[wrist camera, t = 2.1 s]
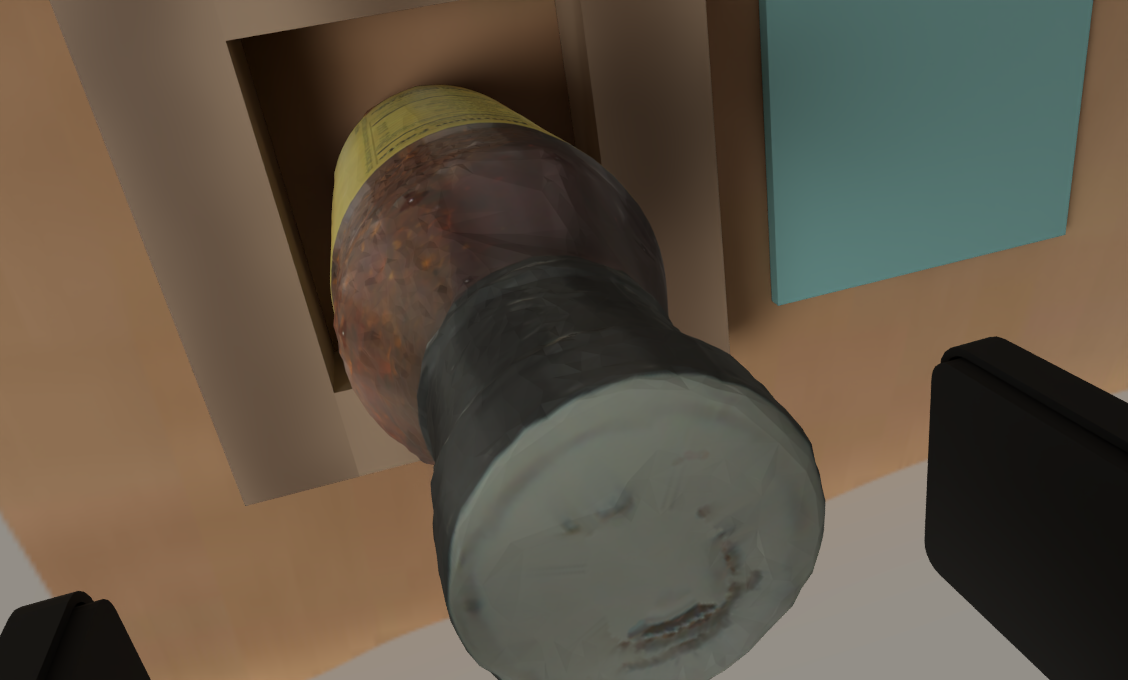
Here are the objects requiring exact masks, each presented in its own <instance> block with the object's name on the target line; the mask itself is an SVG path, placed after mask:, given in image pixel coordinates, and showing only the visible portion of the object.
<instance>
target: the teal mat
mask: <svg viewBox="0 0 1128 680" xmlns="http://www.w3.org/2000/svg"><path fill="white" fill-rule="evenodd" d="M1092 6H1093V0H759V15H760V38H761V62H762V85H763V108H764V131H765V154H766V177H767V200H768V223H769V246H770V269H771V293H772V301H773V302H774V303H775V304H777V305H778V306H779V305H783V304H787V303H791V302H795V301H799V300H803V299H807V298H811V297H815V296H819V295H824V294H828V293H832V292H836V291H840V290H844V289H848V288H852V287H856V286H860V285H864V284H868V283H872V282H876V281H880V280H884V279H888V278H892V277H896V276H900V275H904V274H908V273H912V272H917V271H921V270H925V269H929V268H933V267H937V266H941V265H945V264H949V263H953V262H957V261H961V260H965V259H969V258H973V257H977V256H981V255H985V254H989V253H993V252H997V251H1001V250H1005V249H1010V248H1014V247H1018V246H1022V245H1026V244H1030V243H1034V242H1038V241H1042V240H1046V239H1050V238H1054V237H1058V236H1062V235H1065V233H1066V224H1067V216H1068V208H1069V199H1070V191H1071V182H1072V174H1073V166H1074V157H1075V149H1076V140H1077V132H1078V123H1079V115H1080V107H1081V98H1082V90H1083V81H1084V73H1085V64H1086V56H1087V48H1088V39H1089V31H1090V22H1091V14H1092Z"/></svg>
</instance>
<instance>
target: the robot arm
mask: <svg viewBox="0 0 1128 680" xmlns="http://www.w3.org/2000/svg"><path fill="white" fill-rule="evenodd" d="M926 497H927V498H926V519H925V549H926V553H927V556H928V558H929V560H930V562H931V564H932V566H933V567H934V569H935V570H936V571H937V572H938V573H939V574H940V575H941V576H942V577H943V578H944V579H945V580H946V581H947V582H948V583H949V584H950V585H951V586H952V587H953V588H954V589H955V590H956V591H957V592H958V593H959V594H960V595H962V596H963V597H964V598H965V599H966V600H967V601H968V602H969V603H970V604H971V605H972V606H973V607H974V608H975V609H976V610H977V611H978V612H979V613H980V614H981V615H982V616H984V617H985V618H986V619H987V620H988V621H989V622H990V623H991V624H992V625H993V626H994V627H995V628H996V629H997V630H998V631H999V632H1000V633H1001V634H1003V636H1004V637H1006V638H1007V639H1008V640H1009V641H1010V642H1011V643H1012V644H1013V645H1014V646H1015V647H1016V648H1017V649H1018V650H1019V651H1020V652H1021V653H1022V654H1023V655H1024V656H1025V657H1027V659H1028V660H1030V661H1031V662H1032V663H1033V664H1034V665H1035V666H1036V667H1037V668H1038V669H1039V670H1040V671H1041V672H1042V673H1043V674H1044V675H1045V676H1046V677H1047V678H1048V679H1049V680H1128V403H1127V402H1125V401H1123V400H1121V399H1119V398H1117V397H1115V396H1113V395H1111V394H1109V393H1107V392H1105V391H1104V390H1102V389H1100V388H1098V387H1096V386H1094V385H1092V384H1090V383H1088V382H1086V381H1084V380H1082V379H1080V378H1079V377H1077V376H1075V375H1073V374H1071V373H1069V372H1067V371H1065V370H1063V369H1061V368H1059V367H1057V366H1056V365H1054V364H1052V363H1050V362H1048V361H1046V360H1044V359H1042V358H1040V357H1038V356H1036V355H1034V354H1032V353H1031V352H1029V351H1027V350H1025V349H1023V348H1021V347H1019V346H1017V345H1015V344H1013V343H1011V342H1009V341H1007V340H1006V339H1003V338H1000V337H997V336H996V337H988V338H985V339H981V340H978V341H974V342H970V343H967V344H963V345H960V346H956V347H952V348H950V349H948V350H947V351H946V352H945V353H944V355H943V357H942V358H941V363H940V364H938V365H937V366H935V368H934V370H933V373H932V380H931V403H930V426H929V450H928V474H927V496H926ZM0 680H151V679H150V677H149V675H148V673H147V671H146V669H145V667H144V665H143V663H142V661H141V659H140V657H139V655H138V653H137V651H136V649H135V647H134V645H133V643H132V641H131V639H130V637H129V635H128V633H127V631H126V629H125V627H124V625H123V623H122V621H121V619H120V617H119V615H118V613H117V611H116V609H115V608H114V606H113V604H112V603H111V602H110V601H108V600H106V599H102V600H98V601H95V602H93V600H92V598H91V597H90V596H89V595H88V594H86V593H85V592H82V591H76V592H73V593H69V594H65V595H62V596H58V597H55V598H51V599H47V600H44V601H40V602H37V603H33V604H29V605H26V606H22V607H20V608H18V609H16V610H14V612H13V613H12V614H11V616H10V617H9V619H8V621H7V623H6V625H5V627H4V629H3V631H2V633H1V635H0Z"/></svg>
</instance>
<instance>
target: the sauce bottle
mask: <svg viewBox="0 0 1128 680" xmlns="http://www.w3.org/2000/svg"><path fill="white" fill-rule="evenodd" d="M334 179H335V183H334V191H333V201H332V227H331V264H330V287H331V298H332V303H333V309H334V313H335V315H334V324H333V325H334V329H335V332H336V335H337V339H338V344H339V353H340V355H341V357H342V359H343V361H344V366H345V370H346V373H347V376H348V378H349V381H350V383H351V386H352V388H353V391H354V392H355V394H356V395H357V396H358V398H359V399H360V401H361V402H362V404H363V406H364V407H365V409H366V410H367V412H368V413H369V415H370V416H372V417H373V418H374V420H375V421H376V422H377V423H378V424H379V426H380V427H381V428H382V429H383V430H384V431H385V432H386V433H387V434H388V435H389V436H390V437H392V438H393V439H395V440H396V441H397V442H399V443H401V444H403V445H404V446H406V448H407V449H408V450H409V451H410V452H411V453H413V454H415V455H416V456H417V457H418V458H419V459H420V460H421V461H422V462H424V463H426V464H432V465H434V473H433V477H432V480H431V495H432V503H433V510H434V515H433V535H434V542H435V547H436V553H437V561H438V571H439V576H440V579H441V584H442V588H443V593H444V597H445V602H446V606H447V610H448V613H449V617H450V621H451V623H452V625H453V627H454V629H455V631H456V633H457V635H458V636H459V638H460V640H461V642H462V644H463V645H464V647H465V649H466V650H467V652H468V653H469V654H470V655H471V656H472V658H473V659H474V660H475V661H476V662H477V663H478V664H479V666H481V667H483V668H484V669H486V670H488V671H490V672H491V673H492V674H493V675H494V676H495V677H496V678H497V679H498V680H710V679H711V678H713V677H714V676H716V675H718V674H719V673H721V672H723V671H725V670H726V669H727V668H729V667H730V666H731V665H732V664H734V663H735V662H736V661H737V660H739V659H740V658H741V657H742V656H744V655H745V654H746V653H748V652H749V651H750V650H751V649H752V648H753V647H754V645H755V644H756V643H757V642H758V641H759V640H760V639H761V638H762V637H763V636H764V635H765V634H766V632H767V631H768V630H769V629H770V628H771V627H772V626H773V625H774V624H775V623H776V622H777V621H778V620H779V619H780V618H781V617H782V616H783V615H784V614H785V613H786V612H787V611H788V610H789V609H790V608H791V607H792V606H793V604H794V602H795V600H796V598H797V596H798V594H799V592H800V590H801V588H802V587H803V585H804V584H805V583H806V581H807V580H808V578H809V577H810V575H811V574H812V572H813V569H814V566H815V562H816V560H817V556H818V553H819V550H820V546H821V542H822V538H823V532H824V518H825V498H824V494H823V489H822V485H821V479H820V474H819V470H818V468H817V465H816V463H815V458H814V454H813V449H812V444H811V442H810V441H809V439H808V437H807V436H806V434H805V432H804V431H803V429H802V428H801V426H800V425H799V424H798V423H797V422H796V421H795V419H794V418H793V417H792V416H791V415H790V414H789V413H788V411H787V410H786V409H785V408H784V407H783V406H782V405H780V404H779V403H778V402H777V401H776V400H775V399H774V398H773V396H772V395H771V394H770V393H769V391H768V390H767V389H766V388H765V386H764V385H763V384H761V383H760V382H759V381H757V380H756V379H755V378H754V377H753V376H752V375H751V374H750V372H749V371H748V370H746V369H745V368H744V367H743V366H742V365H741V364H740V363H739V362H738V361H737V360H735V359H734V358H733V357H732V356H731V355H730V354H728V353H726V352H725V351H723V350H721V349H719V348H717V347H715V346H712V345H710V344H708V343H706V342H704V341H702V340H700V339H697V338H694V337H691V336H689V335H686V334H683V333H681V331H680V330H679V329H678V328H676V327H674V325H673V323H672V322H671V320H670V319H669V315H668V299H667V286H666V276H665V269H664V263H663V259H662V255H661V251H660V248H659V245H658V242H657V239H656V237H655V234H654V231H653V229H652V227H651V225H650V223H649V221H648V219H647V218H646V216H645V214H644V213H643V211H642V209H641V207H640V206H639V204H638V203H637V202H636V201H635V199H634V198H633V197H632V196H631V194H630V193H629V192H628V191H627V190H626V189H625V187H624V186H623V185H622V184H621V183H620V182H619V181H618V180H617V179H616V177H615V176H614V175H613V174H612V173H610V172H609V171H608V170H607V169H605V168H604V167H603V166H602V165H600V164H599V163H598V162H597V161H595V160H594V159H593V158H592V157H590V156H588V155H587V154H585V153H584V152H582V151H580V150H579V149H577V148H576V147H574V146H572V145H571V144H569V143H567V142H565V141H564V140H562V139H560V138H558V137H556V136H555V135H553V134H551V133H549V132H547V131H546V130H544V129H542V128H541V127H539V126H538V125H536V124H534V123H533V122H531V121H530V120H528V119H526V118H525V117H523V116H521V115H520V114H518V113H516V112H514V111H512V110H511V109H509V108H507V107H506V106H504V105H502V104H501V103H499V102H498V101H496V100H494V99H492V98H490V97H488V96H486V95H484V94H481V93H478V92H476V91H473V90H469V89H466V88H462V87H457V86H450V85H425V86H416V87H413V88H410V89H408V90H405V91H402V92H400V93H398V94H396V95H393V96H392V97H390V98H388V99H386V100H384V101H383V102H381V103H379V104H378V105H376V106H374V107H373V108H371V109H370V110H368V111H367V112H366V113H365V115H364V117H363V118H362V120H361V121H360V122H359V123H358V124H357V125H356V127H355V128H354V129H353V131H352V132H351V133H350V135H349V137H348V139H347V140H346V142H345V144H344V146H343V148H342V150H341V153H340V155H339V158H338V162H337V165H336V169H335V172H334Z"/></svg>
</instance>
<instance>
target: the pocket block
mask: <svg viewBox="0 0 1128 680" xmlns="http://www.w3.org/2000/svg"><path fill="white" fill-rule="evenodd" d="M49 1H50V3H51V6H52V8H53V11H54V13H55V16H56V19H57V21H58V24H59V26H60V29H61V32H62V34H63V37H64V39H65V42H66V44H67V47H68V50H69V52H70V55H71V57H72V60H73V63H74V65H75V68H76V70H77V73H78V75H79V78H80V81H81V83H82V86H83V88H84V91H85V94H86V96H87V99H88V101H89V104H90V106H91V109H92V112H93V114H94V117H95V119H96V122H97V125H98V127H99V130H100V132H101V135H102V137H103V140H104V143H105V145H106V148H107V150H108V153H109V156H110V158H111V161H112V163H113V166H114V168H115V171H116V174H117V176H118V179H119V181H120V184H121V187H122V189H123V192H124V194H125V197H126V199H127V202H128V205H129V207H130V210H131V212H132V215H133V218H134V220H135V223H136V225H137V228H138V230H139V233H140V236H141V238H142V241H143V243H144V246H145V249H146V251H147V254H148V256H149V259H150V261H151V264H152V267H153V269H154V272H155V274H156V277H157V280H158V282H159V285H160V287H161V290H162V292H163V295H164V298H165V300H166V303H167V305H168V308H169V311H170V313H171V316H172V318H173V321H174V323H175V326H176V329H177V331H178V334H179V336H180V339H181V342H182V344H183V347H184V349H185V352H186V354H187V357H188V360H189V362H190V365H191V367H192V370H193V373H194V375H195V378H196V380H197V383H198V385H199V388H200V391H201V393H202V396H203V398H204V401H205V404H206V406H207V409H208V411H209V414H210V416H211V419H212V422H213V424H214V427H215V429H216V432H217V435H218V437H219V440H220V442H221V445H222V447H223V450H224V453H225V455H226V458H227V460H228V463H229V465H230V468H231V471H232V473H233V476H234V478H235V481H236V484H237V486H238V489H239V491H240V494H241V496H242V499H243V502H244V504H245V506H247V505H251V504H255V503H259V502H263V501H267V500H271V499H274V498H278V497H282V496H286V495H290V494H294V493H297V492H301V491H305V490H309V489H313V488H317V487H321V486H324V485H328V484H332V483H336V482H340V481H344V480H348V479H351V478H355V477H359V476H363V475H367V474H371V473H374V472H378V471H382V470H386V469H390V468H394V467H398V466H401V465H405V464H409V463H413V462H417V461H421V460H420V459H419V458H418V457H417V456H416V455H415V454H413V453H411V452H410V451H409V450H408V449H407V448H406V446H404V445H403V444H401V443H399V442H397V441H396V440H395V439H393V438H392V437H390V436H389V435H388V434H387V433H386V432H385V431H384V430H383V429H382V428H381V427H380V426H379V424H378V423H377V422H376V421H375V420H374V418H373V417H372V416H370V415H369V413H368V412H367V410H366V409H365V407H364V406H363V404H362V402H361V401H360V399H359V398H358V396H357V395H356V394H355V392H354V391H353V388H352V386H351V383H350V381H349V378H348V376H347V373H346V370H345V366H344V361H343V359H342V357H341V355H340V353H339V351H338V352H334V349H333V346H332V342H331V339H330V336H329V332H328V329H327V326H326V322H325V319H324V316H323V312H322V309H321V306H320V302H319V299H318V296H317V292H316V289H315V286H314V282H313V279H312V276H311V272H310V269H309V266H308V262H307V259H306V256H305V252H304V249H303V246H302V242H301V239H300V236H299V232H298V229H297V226H296V223H295V219H294V216H293V213H292V209H291V206H290V203H289V199H288V196H287V193H286V189H285V186H284V183H283V179H282V176H281V173H280V169H279V166H278V163H277V159H276V156H275V153H274V149H273V146H272V143H271V139H270V136H269V133H268V129H267V126H266V123H265V119H264V116H263V113H262V109H261V106H260V103H259V99H258V96H257V93H256V89H255V86H254V83H253V79H252V76H251V73H250V69H249V66H248V63H247V59H246V56H245V53H244V49H243V46H242V43H241V39H240V38H245V37H251V36H256V35H262V34H268V33H274V32H279V31H285V30H291V29H297V28H302V27H308V26H314V25H320V24H325V23H331V22H337V21H343V20H348V19H354V18H360V17H366V16H371V15H377V14H383V13H388V12H394V11H400V10H406V9H411V8H417V7H423V6H429V5H434V4H440V3H446V2H452V1H457V0H49ZM555 6H556V13H557V20H558V27H559V34H560V41H561V48H562V55H563V62H564V69H565V76H566V83H567V90H568V97H569V104H570V111H571V118H572V125H573V132H574V139H575V146H576V148H577V149H579V150H580V151H582V152H584V153H585V154H587V155H588V156H590V157H592V158H593V159H594V160H595V161H597V162H598V163H599V164H600V165H602V166H603V167H604V168H605V169H607V170H608V171H609V172H610V173H612V174H613V175H614V176H615V177H616V179H617V180H618V181H619V182H620V183H621V184H622V185H623V186H624V187H625V189H626V190H627V191H628V192H629V193H630V194H631V196H632V197H633V198H634V199H635V201H636V202H637V203H638V204H639V206H640V207H641V209H642V211H643V213H644V214H645V216H646V218H647V219H648V221H649V223H650V225H651V227H652V229H653V231H654V234H655V237H656V239H657V242H658V245H659V248H660V251H661V255H662V259H663V263H664V269H665V276H666V286H667V299H668V315H669V319H670V320H671V322H672V323H673V325H674V327H676V328H678V329H679V330H680V331H681V333H683V334H686V335H689V336H691V337H694V338H697V339H700V340H702V341H704V342H706V343H708V344H710V345H712V346H715V347H717V348H719V349H721V350H723V351H725V352H726V353H728V354H730V346H729V332H728V317H727V303H726V288H725V274H724V259H723V245H722V230H721V216H720V201H719V187H718V172H717V158H716V143H715V129H714V114H713V100H712V85H711V71H710V57H709V42H708V28H707V13H706V0H555Z"/></svg>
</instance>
